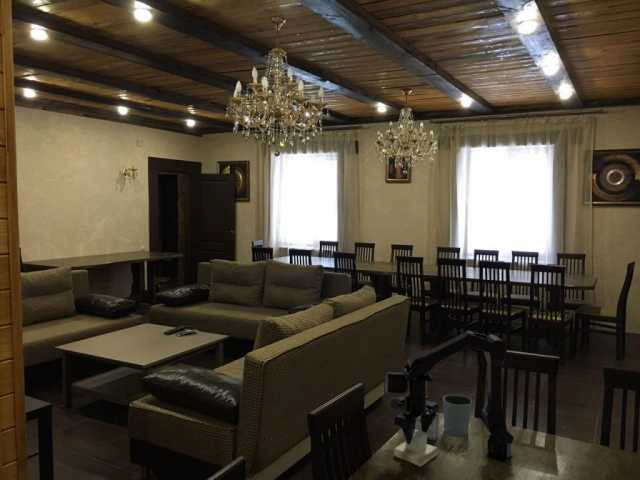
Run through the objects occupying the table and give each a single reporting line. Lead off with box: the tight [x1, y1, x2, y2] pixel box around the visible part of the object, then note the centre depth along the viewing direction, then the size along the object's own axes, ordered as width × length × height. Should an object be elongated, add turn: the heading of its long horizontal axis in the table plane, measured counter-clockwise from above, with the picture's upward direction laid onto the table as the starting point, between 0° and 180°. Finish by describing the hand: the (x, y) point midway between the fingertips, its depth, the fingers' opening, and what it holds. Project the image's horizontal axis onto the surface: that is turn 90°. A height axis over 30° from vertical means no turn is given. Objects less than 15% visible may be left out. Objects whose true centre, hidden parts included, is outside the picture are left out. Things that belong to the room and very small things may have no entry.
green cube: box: [404, 429, 428, 453], centre depth 174 cm, size 5×5×5 cm
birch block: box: [393, 441, 438, 467], centre depth 175 cm, size 10×10×3 cm
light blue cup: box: [442, 393, 473, 438], centre depth 192 cm, size 10×10×12 cm
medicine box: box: [415, 412, 440, 441], centre depth 188 cm, size 8×4×9 cm, turn 62°
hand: (416, 439), depth 174 cm, fingers open, 9 cm apart
